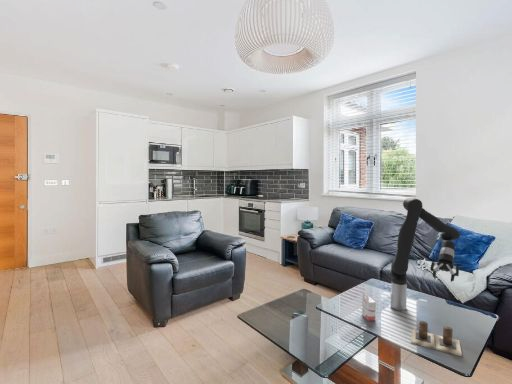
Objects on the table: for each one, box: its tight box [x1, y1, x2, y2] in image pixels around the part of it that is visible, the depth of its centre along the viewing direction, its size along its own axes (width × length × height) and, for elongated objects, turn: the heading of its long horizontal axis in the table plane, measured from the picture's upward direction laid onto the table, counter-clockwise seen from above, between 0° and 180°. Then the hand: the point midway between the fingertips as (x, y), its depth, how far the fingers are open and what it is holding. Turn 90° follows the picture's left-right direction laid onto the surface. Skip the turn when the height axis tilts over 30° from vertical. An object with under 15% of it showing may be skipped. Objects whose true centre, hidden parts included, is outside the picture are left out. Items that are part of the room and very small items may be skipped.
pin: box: [418, 320, 429, 339], centre depth 151 cm, size 4×4×8 cm
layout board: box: [410, 328, 463, 357], centre depth 148 cm, size 22×14×1 cm, turn 59°
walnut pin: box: [442, 325, 453, 345], centre depth 145 cm, size 4×4×8 cm
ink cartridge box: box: [361, 292, 377, 322], centre depth 175 cm, size 9×5×15 cm, turn 5°
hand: (442, 279), depth 166 cm, fingers open, 8 cm apart
